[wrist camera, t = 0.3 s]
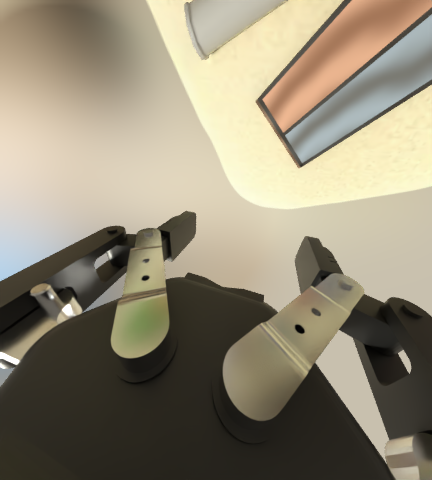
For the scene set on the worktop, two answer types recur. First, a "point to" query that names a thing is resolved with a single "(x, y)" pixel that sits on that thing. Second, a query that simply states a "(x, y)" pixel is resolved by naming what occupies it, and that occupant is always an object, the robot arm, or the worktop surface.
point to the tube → (222, 20)
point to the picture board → (350, 74)
